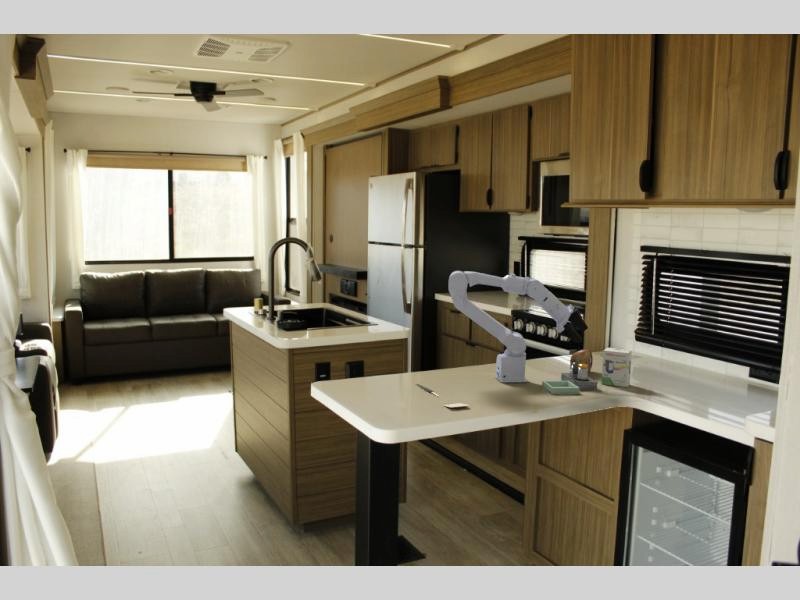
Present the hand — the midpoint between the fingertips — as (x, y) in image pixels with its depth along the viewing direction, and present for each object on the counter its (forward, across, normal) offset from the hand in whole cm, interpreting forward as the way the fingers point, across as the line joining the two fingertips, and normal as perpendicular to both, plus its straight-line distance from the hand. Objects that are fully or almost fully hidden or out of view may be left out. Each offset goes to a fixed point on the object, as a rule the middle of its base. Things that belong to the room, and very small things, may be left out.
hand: (583, 335), depth 227 cm
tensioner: (+10, -9, +10) cm, 16 cm away
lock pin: (+11, -11, +8) cm, 17 cm away
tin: (+13, +6, +16) cm, 22 cm away
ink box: (+20, -2, +4) cm, 20 cm away
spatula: (-24, -45, +24) cm, 56 cm away
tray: (+5, -19, +9) cm, 21 cm away
